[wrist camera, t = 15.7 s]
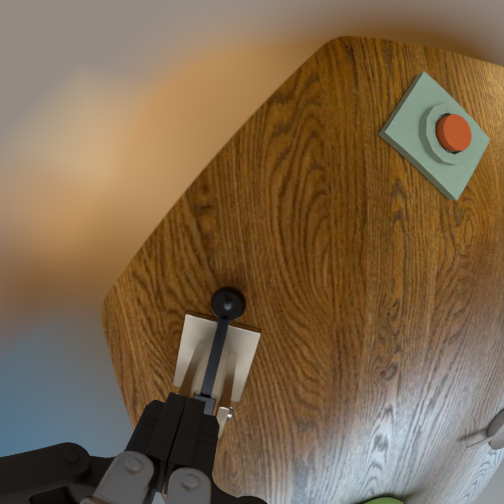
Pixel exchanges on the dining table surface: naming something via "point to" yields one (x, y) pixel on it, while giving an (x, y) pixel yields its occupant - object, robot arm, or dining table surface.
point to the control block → (433, 136)
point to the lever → (220, 338)
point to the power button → (453, 132)
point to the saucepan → (493, 434)
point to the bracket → (230, 366)
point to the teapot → (385, 501)
